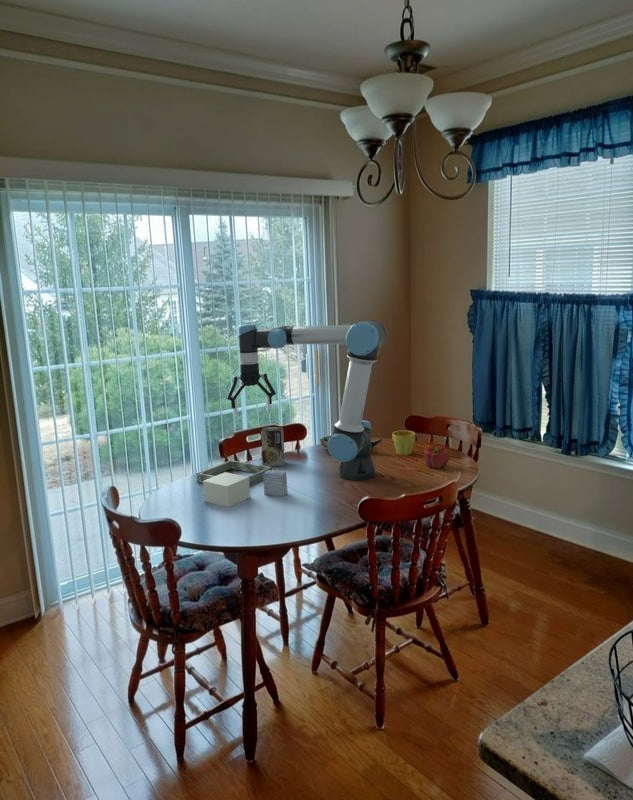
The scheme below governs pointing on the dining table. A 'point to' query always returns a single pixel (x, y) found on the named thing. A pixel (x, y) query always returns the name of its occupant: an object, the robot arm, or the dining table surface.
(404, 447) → the plant pot
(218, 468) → the bowl tray frame
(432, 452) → the vegetable
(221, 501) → the riser block
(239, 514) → the dining table surface
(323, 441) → the olive brown bowl
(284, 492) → the medicine box
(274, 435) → the coffee box
